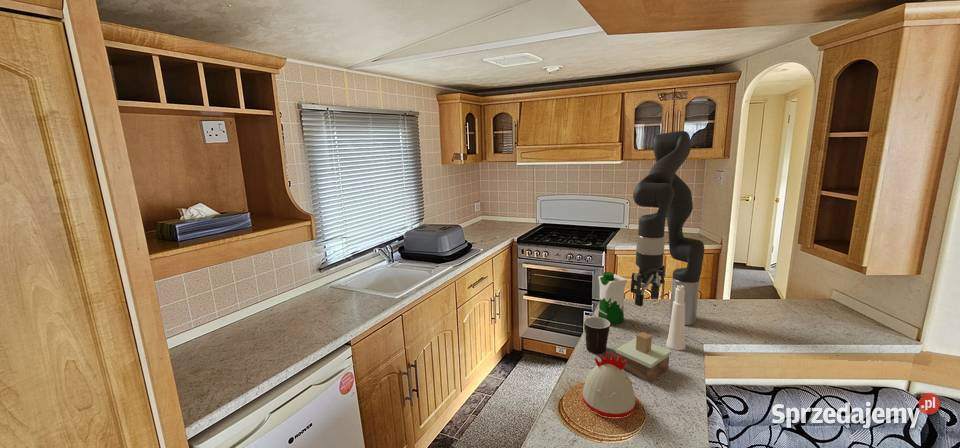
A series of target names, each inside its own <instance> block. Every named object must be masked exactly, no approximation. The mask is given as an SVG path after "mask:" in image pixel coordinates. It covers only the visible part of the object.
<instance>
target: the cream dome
mask: <svg viewBox="0 0 960 448" xmlns="http://www.w3.org/2000/svg"><path fill="white" fill-rule="evenodd" d="M615 356H616V355H615V353H614V352H612V355H611V358H610V354H609V351H608V350H606V355H605V357H604V355H603V353H602V354H600V356H599V357H600V361H599V360H598V358H597V357H596V356H595V357H594V361H595V364H596V365H595V366H594V367H593V368H592V369H591V370H590V372H589V373H588V375H587V378H586V380H585V382H584V385H583V388H582V394H581V395H582V397H583V399H582V402H583V401H584V403H585V404H586V405H587V407H589V408H590V409H591V410H592V411H594V412H596V413H598V414H600V415H602V416H607V417H624V416H627V415H629V414H631V413H632V412H633V411H634V412H635V410H636V395H635V391H634V387H633V382H632V381H631V379H630V377H629V375H628V372H626V371H624V370H623V369H622V368H623V367H624V366H625V364H626V362H627V359H626V360H625V361H624V362H621V354H620V356H619V358H618V360H617V359H616V357H615ZM584 403H583V404H584ZM587 407H586V408H587ZM634 409H635V410H634ZM634 412H633V413H634ZM631 415H632V414H631Z"/></svg>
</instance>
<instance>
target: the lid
mask: <svg viewBox="0 0 960 448" xmlns="http://www.w3.org/2000/svg"><path fill="white" fill-rule="evenodd" d="M652 337H653V335H651V334H649V333H646V332H644V331H642V332H639V333H638V334H636V337H634V338H633V339H631V340H629V341H627V342H626V343H624V344H622V345H620V346H619V347H618V348H616V349H615V353H616V354H617V353H618V354H621V355H623V356H625V357H627V358H629V359H631V360H634V361H636V362H638V363H640V364H642V365H644V366H647V367H649V368H652V367H653V366H655V365H656V364H658V363H659V362H661V361H662V360H664V359H665V358H667V357H668V356H669V357H670V356H671V355H672V351H671V350H670V349H667V348H664V347H662V346H659V345H657V344H655V343H652V340H653V338H652Z"/></svg>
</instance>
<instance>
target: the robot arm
mask: <svg viewBox="0 0 960 448" xmlns="http://www.w3.org/2000/svg"><path fill="white" fill-rule="evenodd" d="M652 141H653V142H652V147H653V153H654V159H655V163H654V164H653V165H652V166H651V168H650V170H649V172H648V175H646V176H645V177H644V178H643V179H641V180H640V181H639V182H638V183H637V184H636V186H635V187H634V190H633V193H632V198H633V201H634V203H635V204H636V205H637V206H639V207H642V208H643V207H644V208H657V209H658V210H657V212H655V213H650V214H643V215H641V216H640V217H639V219H638V225H637V226H638V229H637V230H638V232H637V238H636V239H637V240H636V250H635V252H636V253H635V265H636V267H638V272H632V273H631V281H630V293H633V294H635V295H634V296H635V298H634V299H635V300H634V304H635V306H638V307H640V308H641V307H643V306H644V293H645V291H646V290H647V289H648V288H649V286H650V284H651V287H650V298H652V299H654V300H658V299H659V298H660V297H659V295H660V288H661V286H662V285H663V284H665V273H666V272H665V270H666V269H665V265H664V258H665V257H664V256H665V255H664V254H665V228H666V225H667V230H668V231H667V232H668V249H669V250H668V251H669V254H670V256H671V258H672V259H673V260H676V261H679V262H684V263H687V265H686V267H681V268H676V269H674V270H673V271H672V281H671V293H670V294H671V295H670V306H669V307H670V308H669V309H670V310H669V320H670V321H671V315H672V307H673V302H674V301H675V291H676V288H677V285H682V286H684V289H685V294H684V303H685V326H693V325H695V324H696V323H697V322H696V321H697V312H698V303H699V291H700V289H699V288H700V279H701V274H702V270H703V261H704V256H705V244H704V242H703V241H702V240H700V239H696V238H691V237H686V236H685V235H684V232H683V227H684V225H685V223H686V222H687V220H688V218H689V217H690V216H691V214H692V212H693V209H694V204H693V202H694V201H693V196H692V190H691V189H690V187H689V186H688V184H686V183H685V181H684V180H683V179H682V178H681V177H680V176H679V175H678V174H677V171H678V170H679V168H680V167H681V166H682V165H683V164H684V163H685V161H686V160H687V158H688V157H689V155H690V153H691V147H692V142H691V141H692V140H691V136H690V134H689V133H688V132H687V131H686V130H685V131H684V130H682V131H681V130H678V131H671V132H665V133H659V134H656V135H655V136H654V137H653V140H652ZM666 222H667V224H666Z"/></svg>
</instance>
